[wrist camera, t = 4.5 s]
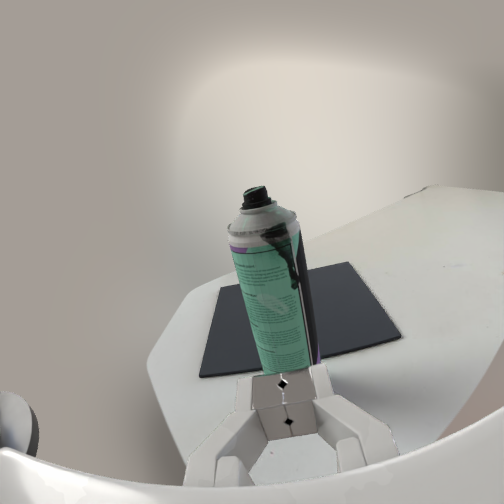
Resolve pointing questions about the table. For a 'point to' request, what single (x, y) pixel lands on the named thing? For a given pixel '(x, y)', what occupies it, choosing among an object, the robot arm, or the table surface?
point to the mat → (326, 318)
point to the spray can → (274, 282)
